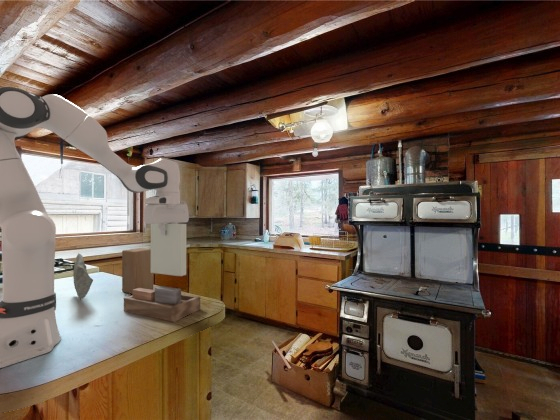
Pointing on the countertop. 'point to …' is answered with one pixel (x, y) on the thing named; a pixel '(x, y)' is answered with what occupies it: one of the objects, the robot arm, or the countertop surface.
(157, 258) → the white rectangular panel
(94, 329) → the countertop surface
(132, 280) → the wooden block
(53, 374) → the countertop surface
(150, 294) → the cedar offcut
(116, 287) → the countertop surface
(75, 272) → the rock
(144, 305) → the walnut tray
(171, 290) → the charcoal offcut
